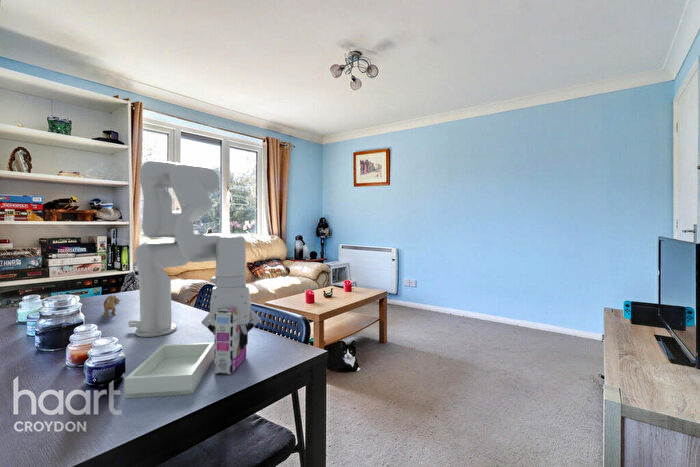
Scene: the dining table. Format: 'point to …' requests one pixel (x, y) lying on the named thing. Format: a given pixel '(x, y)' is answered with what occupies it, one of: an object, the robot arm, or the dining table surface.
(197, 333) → the dining table surface
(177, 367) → the tray
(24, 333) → the dining table surface
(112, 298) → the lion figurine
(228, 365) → the candy bar box
